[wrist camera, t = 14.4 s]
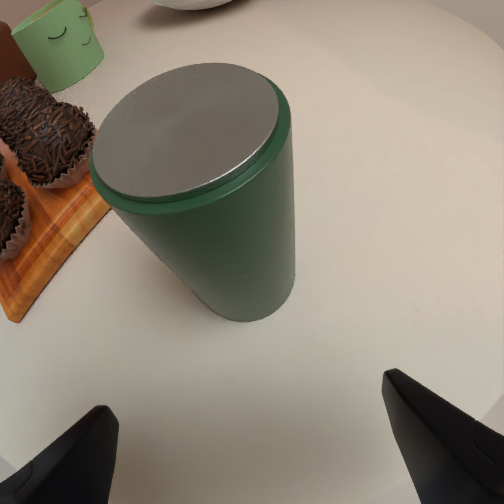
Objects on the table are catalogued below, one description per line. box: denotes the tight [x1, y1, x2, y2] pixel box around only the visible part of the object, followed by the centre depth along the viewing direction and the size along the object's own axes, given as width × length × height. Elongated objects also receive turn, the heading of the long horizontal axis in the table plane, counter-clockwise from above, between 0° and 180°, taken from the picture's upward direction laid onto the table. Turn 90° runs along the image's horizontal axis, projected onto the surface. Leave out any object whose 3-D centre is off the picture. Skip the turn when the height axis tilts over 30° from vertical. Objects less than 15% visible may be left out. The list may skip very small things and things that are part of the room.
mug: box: [11, 0, 104, 93], centre depth 30 cm, size 13×10×12 cm
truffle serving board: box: [0, 76, 111, 323], centre depth 23 cm, size 28×17×8 cm, turn 50°
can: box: [89, 63, 295, 322], centre depth 14 cm, size 6×6×12 cm
